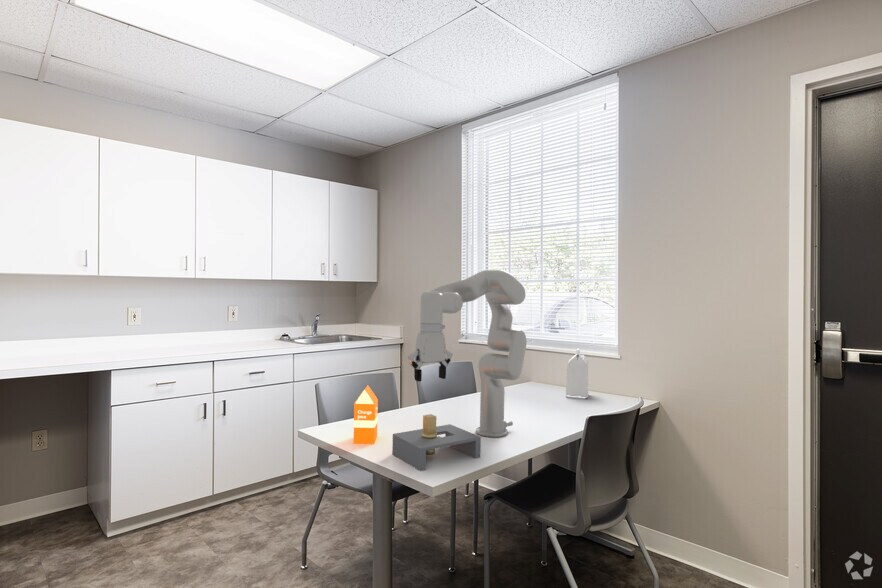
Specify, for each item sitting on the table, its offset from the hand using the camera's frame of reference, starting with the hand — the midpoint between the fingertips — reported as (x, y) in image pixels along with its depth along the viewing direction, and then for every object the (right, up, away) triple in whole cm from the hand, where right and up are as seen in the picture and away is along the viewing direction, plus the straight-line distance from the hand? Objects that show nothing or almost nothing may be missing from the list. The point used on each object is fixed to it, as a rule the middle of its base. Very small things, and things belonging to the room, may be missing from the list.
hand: (430, 379), depth 162 cm
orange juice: (-25, -26, +17) cm, 40 cm away
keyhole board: (+2, -26, +2) cm, 26 cm away
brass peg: (0, -25, 0) cm, 25 cm away
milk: (+79, -28, +104) cm, 133 cm away
